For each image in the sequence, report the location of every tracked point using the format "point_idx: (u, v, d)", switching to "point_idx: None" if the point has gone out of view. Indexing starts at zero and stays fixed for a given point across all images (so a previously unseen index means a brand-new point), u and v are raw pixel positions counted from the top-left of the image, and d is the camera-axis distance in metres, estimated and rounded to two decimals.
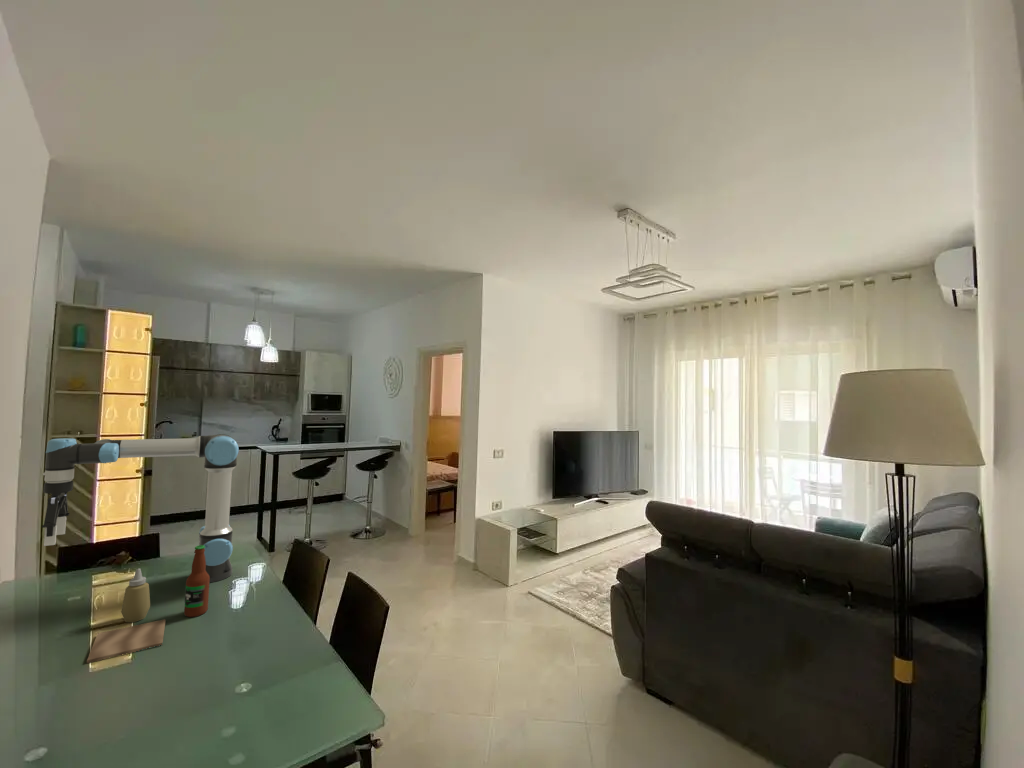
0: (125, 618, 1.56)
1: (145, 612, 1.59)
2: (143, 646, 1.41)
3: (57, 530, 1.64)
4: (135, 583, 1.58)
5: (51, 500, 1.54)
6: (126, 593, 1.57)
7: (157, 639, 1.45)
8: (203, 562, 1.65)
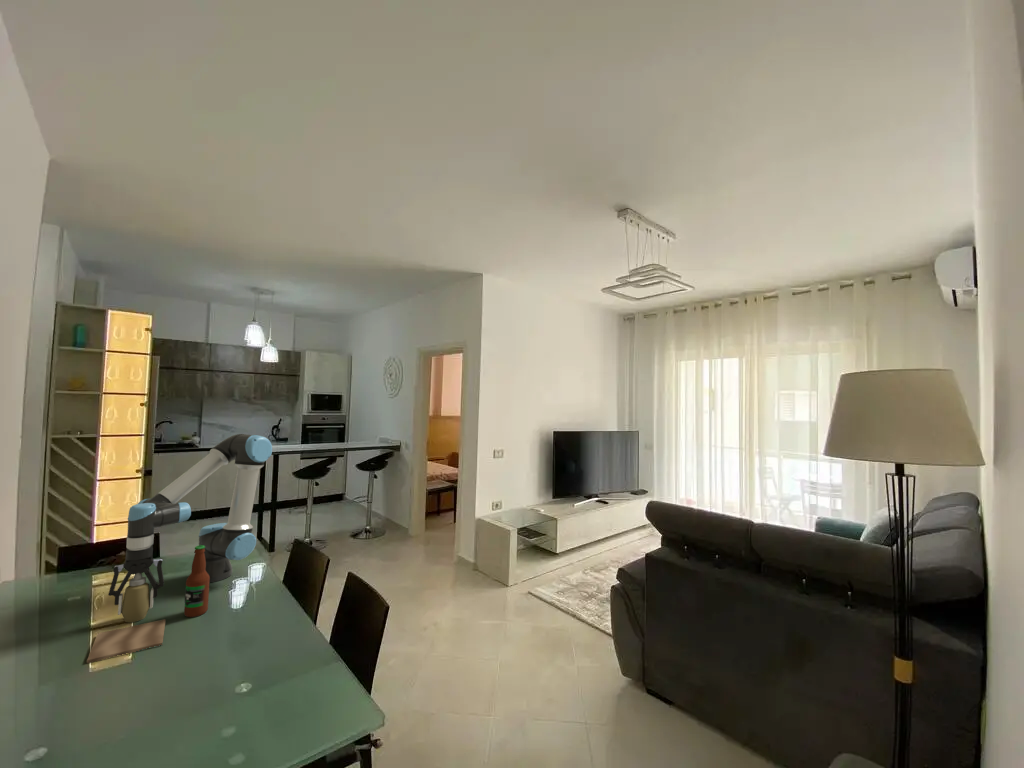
0: (125, 618, 1.56)
1: (145, 612, 1.59)
2: (143, 646, 1.41)
3: None
4: (135, 583, 1.58)
5: (114, 568, 1.56)
6: (126, 593, 1.57)
7: (157, 639, 1.45)
8: (203, 562, 1.65)
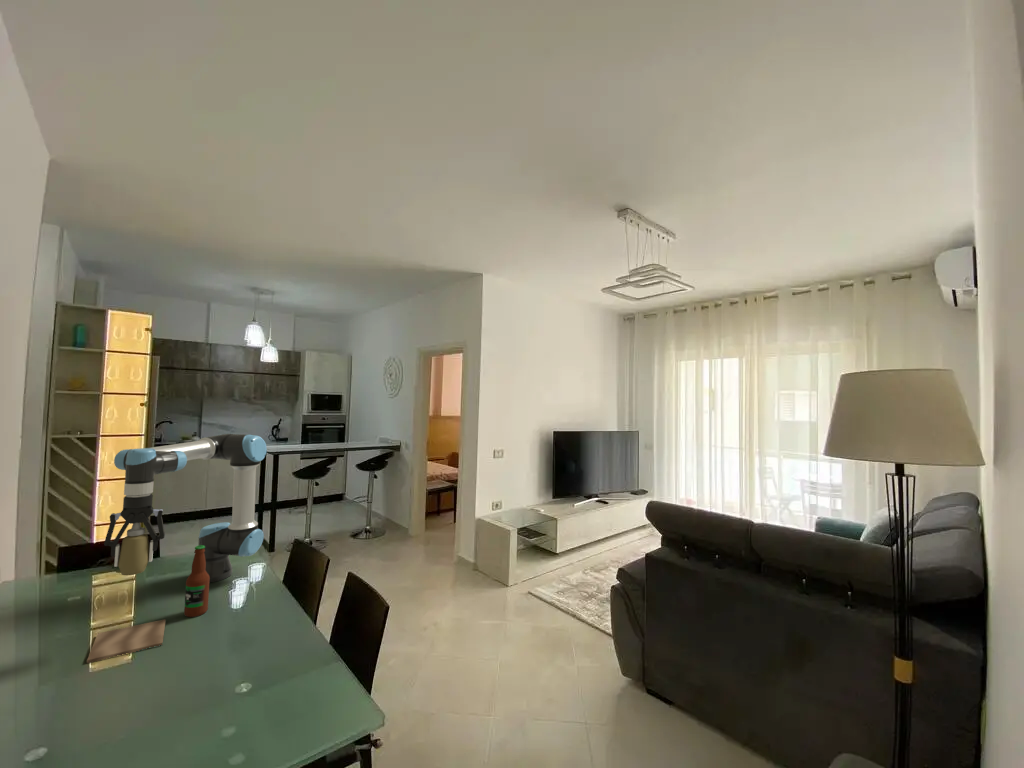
0: (122, 570, 1.43)
1: (144, 565, 1.47)
2: (143, 646, 1.41)
3: None
4: (133, 533, 1.45)
5: None
6: (123, 543, 1.44)
7: (157, 639, 1.45)
8: (203, 562, 1.65)
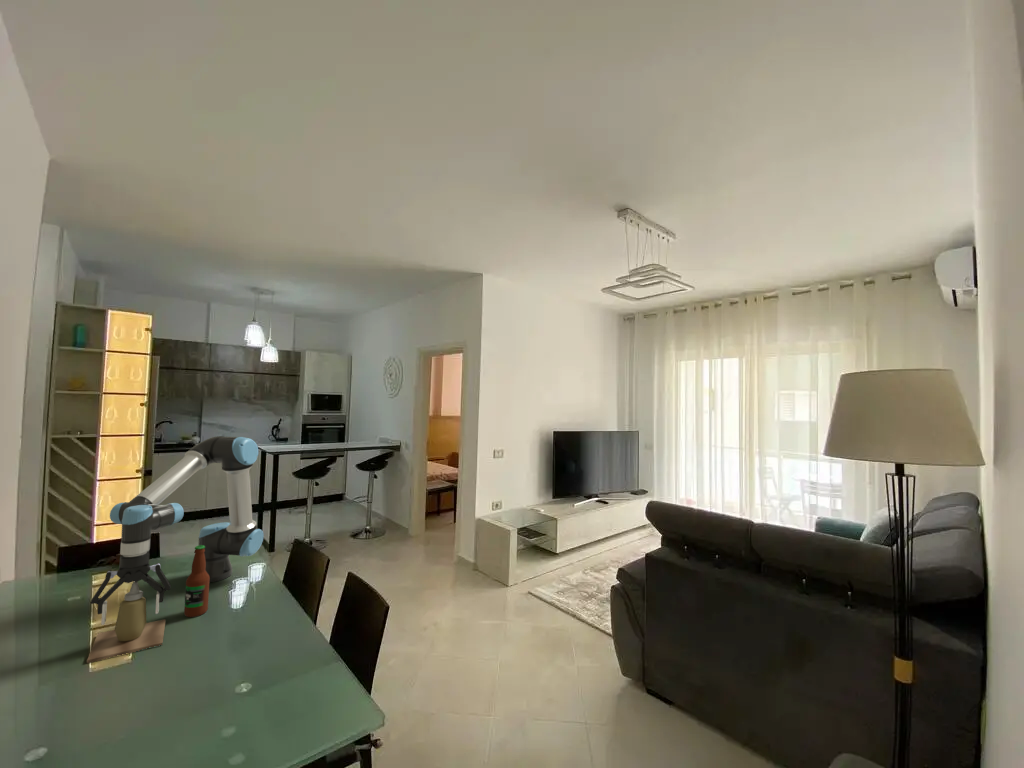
0: (119, 636, 1.42)
1: (141, 630, 1.46)
2: (143, 646, 1.41)
3: None
4: (131, 597, 1.45)
5: None
6: (121, 609, 1.43)
7: (157, 639, 1.45)
8: (203, 562, 1.65)
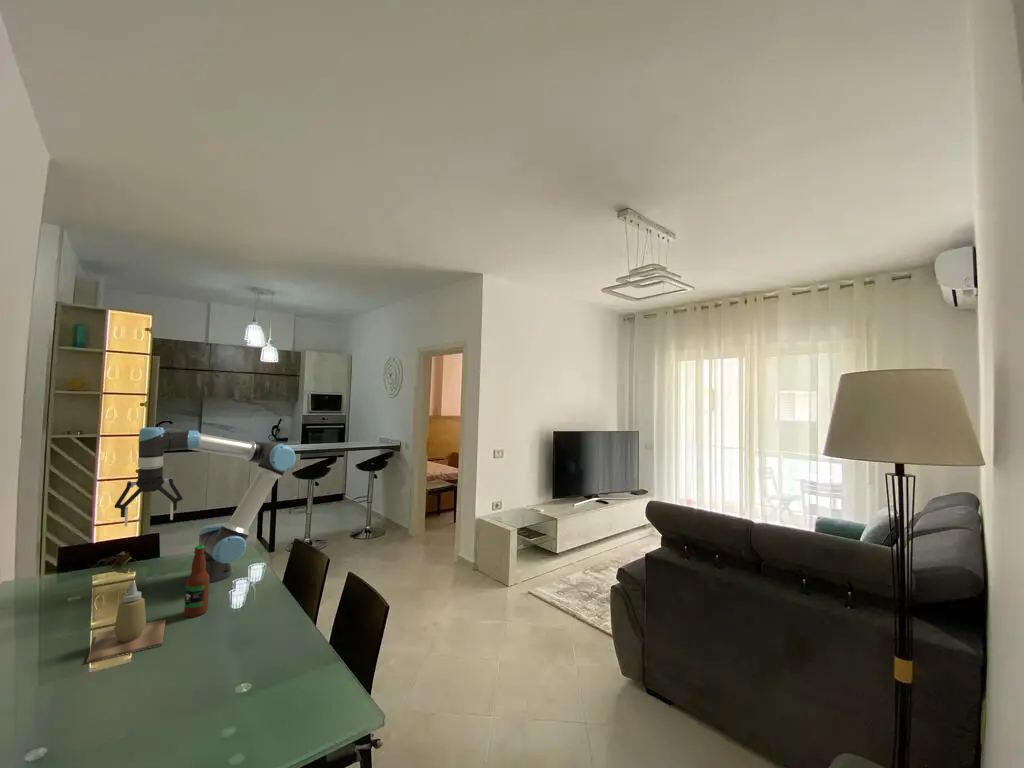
0: (118, 637, 1.42)
1: (140, 630, 1.46)
2: (143, 646, 1.41)
3: (170, 514, 1.74)
4: (129, 599, 1.44)
5: (127, 483, 1.65)
6: (119, 610, 1.43)
7: (157, 639, 1.45)
8: (203, 562, 1.65)
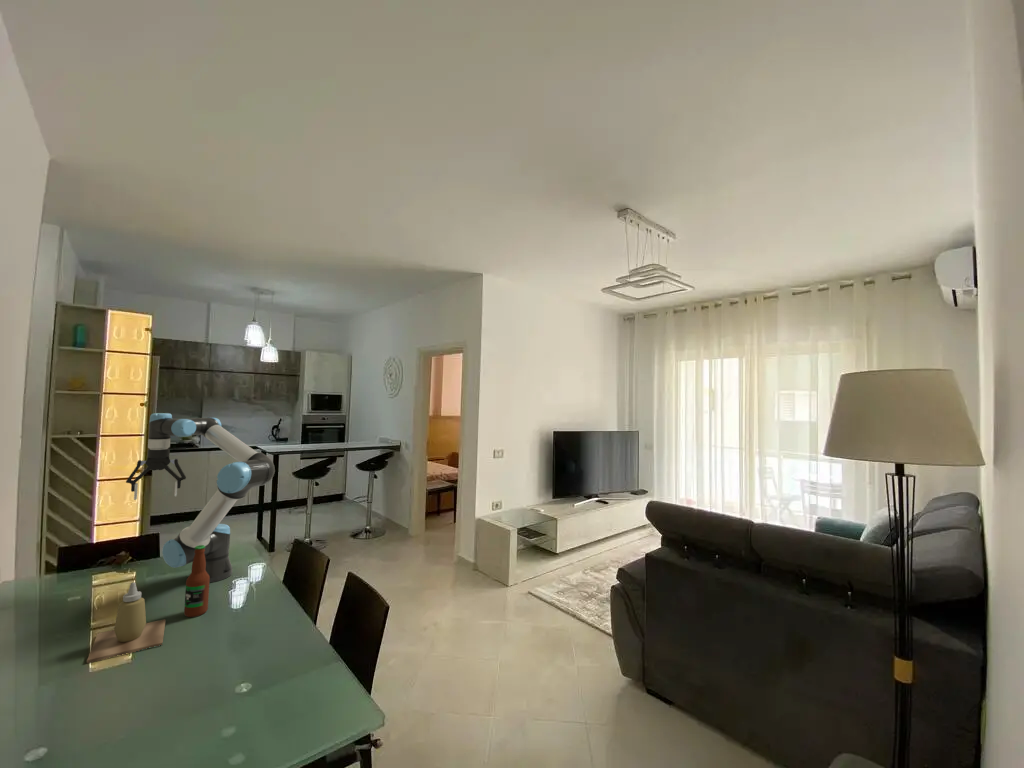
0: (118, 637, 1.42)
1: (140, 630, 1.46)
2: (143, 646, 1.41)
3: None
4: (129, 599, 1.44)
5: (137, 462, 1.87)
6: (119, 610, 1.43)
7: (157, 639, 1.45)
8: (203, 562, 1.65)
